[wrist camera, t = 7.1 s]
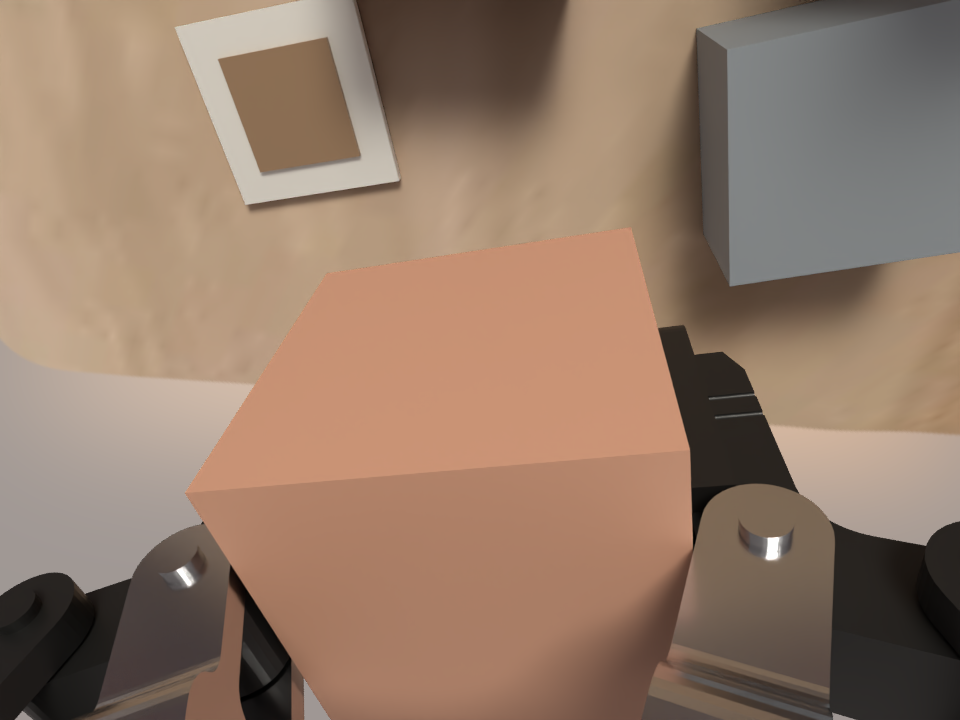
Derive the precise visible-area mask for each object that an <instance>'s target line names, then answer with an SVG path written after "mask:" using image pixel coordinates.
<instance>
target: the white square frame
mask: <svg viewBox="0 0 960 720" xmlns="http://www.w3.org/2000/svg"><path fill="white" fill-rule="evenodd" d="M175 29H176V32H177V34H178V37H179V39H180V42H181V44H182V47H183V49H184V52H185V54H186V57H187V59H188V62H189V64H190V67H191V69H192V72H193V74H194V77H195V79H196V82H197V84H198V87H199V89H200V92H201V94H202V97H203V99H204V102H205V104H206V107H207V109H208V112H209V115H210V117H211V120H212V122H213V125H214V127H215V130H216V132H217V135H218V137H219V140H220V142H221V145H222V147H223V150H224V152H225V155H226V157H227V160H228V162H229V165H230V167H231V170H232V172H233V175H234V177H235V180H236V182H237V185H238V187H239V190H240V192H241V195H242V197H243V200H244V202H245V205H248V204H254V203H261V202H267V201H273V200H280V199H286V198H293V197H299V196H306V195H312V194H319V193H325V192H331V191H338V190H344V189H351V188H357V187H364V186H370V185H377V184H383V183H389V182H396V181H400V179H401V176H400V172H399V168H398V164H397V160H396V156H395V152H394V148H393V144H392V140H391V136H390V132H389V128H388V124H387V120H386V116H385V112H384V108H383V105H382V101H381V97H380V93H379V89H378V85H377V81H376V77H375V73H374V69H373V65H372V61H371V57H370V53H369V49H368V45H367V41H366V37H365V33H364V29H363V25H362V21H361V17H360V14H359V10H358V6H357V2H356V0H300V1H295V2H290V3H285V4H281V5H276V6H271V7H267V8H262V9H257V10H252V11H248V12H243V13H238V14H234V15H229V16H224V17H220V18H215V19H210V20H205V21H201V22H196V23H191V24H187V25H182V26H178V27H175Z"/></svg>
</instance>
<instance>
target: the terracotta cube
mask: <svg viewBox="0 0 960 720" xmlns="http://www.w3.org/2000/svg"><path fill="white" fill-rule="evenodd" d="M185 494H186V496H187V497H188V499H189V500H190V501H191V503H192V505H193V506H194V508H195V509H196V511H197V512H198V514H199V515H200V517H201V519H202V520H203V522H204V524H205V525H206V527H207V528H208V530H209V531H210V533H211V534H212V536H213V538H214V539H215V541H216V542H217V544H218V545H219V547H220V548H221V550H222V551H223V553H224V555H225V556H226V558H227V559H228V561H229V562H230V564H231V565H232V567H233V569H234V570H235V572H236V573H237V575H238V576H239V578H240V579H241V581H242V583H243V584H244V586H245V587H246V589H247V590H248V592H249V593H250V595H251V597H252V598H253V600H254V601H255V603H256V604H257V606H258V607H259V609H260V610H261V612H262V614H263V615H264V617H265V618H266V620H267V621H268V623H269V624H270V626H271V628H272V629H273V631H274V632H275V634H276V635H277V637H278V638H279V640H280V642H281V643H282V645H283V646H284V648H285V649H286V651H287V652H288V654H289V656H290V657H291V659H292V660H293V662H294V663H295V665H296V666H297V668H298V670H299V671H300V673H301V674H302V676H303V677H304V679H305V680H306V682H307V683H308V685H309V687H310V688H311V690H312V691H313V693H314V694H315V696H316V697H317V699H318V700H319V702H320V704H321V705H322V707H323V708H324V710H325V711H326V713H327V714H328V716H329V718H330V719H331V720H641V718H642V714H643V710H644V707H645V703H646V699H647V695H648V691H649V687H650V684H651V680H652V677H653V674H654V672H655V669H656V667H657V665H658V663H659V662H660V661H661V660H662V661H665V660H666V659H667V657H668V654H669V651H670V647H671V643H672V639H673V635H674V631H675V627H676V622H677V618H678V614H679V610H680V606H681V601H682V597H683V593H684V589H685V585H686V580H687V576H688V572H689V568H690V564H691V559H692V555H693V532H692V498H691V464H690V448H689V444H688V440H687V437H686V433H685V429H684V425H683V422H682V418H681V414H680V410H679V406H678V403H677V399H676V395H675V391H674V388H673V384H672V380H671V376H670V373H669V369H668V365H667V361H666V358H665V354H664V350H663V346H662V342H661V339H660V335H659V331H658V327H657V324H656V320H655V316H654V312H653V309H652V305H651V301H650V297H649V294H648V290H647V286H646V282H645V278H644V275H643V271H642V267H641V263H640V260H639V256H638V252H637V248H636V245H635V241H634V237H633V233H632V230H631V227H629V228H622V229H616V230H609V231H603V232H596V233H590V234H583V235H576V236H570V237H563V238H557V239H550V240H543V241H537V242H530V243H524V244H517V245H511V246H504V247H497V248H491V249H484V250H478V251H471V252H465V253H458V254H451V255H445V256H438V257H432V258H425V259H419V260H412V261H405V262H399V263H392V264H386V265H379V266H372V267H366V268H359V269H353V270H346V271H340V272H333V273H327V274H326V275H325V277H324V278H323V280H322V282H321V283H320V285H319V286H318V288H317V289H316V291H315V292H314V294H313V296H312V297H311V299H310V300H309V302H308V303H307V305H306V306H305V308H304V309H303V311H302V313H301V314H300V316H299V317H298V319H297V320H296V322H295V323H294V325H293V327H292V328H291V330H290V331H289V333H288V334H287V336H286V337H285V339H284V340H283V342H282V344H281V345H280V347H279V348H278V350H277V351H276V353H275V354H274V356H273V357H272V359H271V361H270V362H269V364H268V365H267V367H266V368H265V370H264V371H263V373H262V375H261V376H260V378H259V379H258V381H257V382H256V384H255V385H254V387H253V388H252V390H251V392H250V393H249V395H248V396H247V398H246V399H245V401H244V403H243V404H242V406H241V407H240V409H239V410H238V412H237V413H236V415H235V417H234V418H233V420H232V421H231V423H230V424H229V426H228V427H227V429H226V431H225V432H224V434H223V435H222V437H221V438H220V440H219V441H218V443H217V444H216V446H215V447H214V449H213V451H212V452H211V454H210V455H209V457H208V458H207V460H206V462H205V463H204V465H203V466H202V467H201V469H200V471H199V472H198V474H197V475H196V477H195V478H194V480H193V481H192V483H191V485H190V486H189V488H188V489H187V491H186V492H185Z"/></svg>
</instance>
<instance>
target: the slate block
mask: <svg viewBox="0 0 960 720" xmlns="http://www.w3.org/2000/svg"><path fill="white" fill-rule="evenodd" d="M696 32H697V61H698V90H699V120H700V149H701V178H702V208H703V234H704V236H705V238H706V240H707V242H708V244H709V246H710V248H711V250H712V252H713V254H714V256H715V258H716V260H717V262H718V264H719V266H720V268H721V270H722V272H723V274H724V276H725V278H726V280H727V282H728V284H729V286H736V285H743V284H750V283H756V282H763V281H770V280H776V279H783V278H790V277H796V276H803V275H810V274H817V273H823V272H830V271H837V270H843V269H850V268H857V267H864V266H870V265H877V264H884V263H890V262H897V261H904V260H911V259H917V258H924V257H931V256H937V255H944V254H951V253H958V252H960V0H819V1H815V2H811V3H806V4H802V5H798V6H793V7H789V8H784V9H780V10H776V11H771V12H767V13H763V14H758V15H754V16H749V17H745V18H741V19H736V20H732V21H728V22H723V23H719V24H714V25H710V26H706V27H701V28H697V29H696Z"/></svg>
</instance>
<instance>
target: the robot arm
mask: <svg viewBox="0 0 960 720" xmlns="http://www.w3.org/2000/svg"><path fill="white" fill-rule="evenodd" d="M658 331H659V335H660V339H661V342H662V346H663V350H664V354H665V358H666V361H667V365H668V369H669V373H670V376H671V380H672V384H673V388H674V391H675V395H676V399H677V403H678V406H679V410H680V414H681V418H682V422H683V425H684V429H685V433H686V437H687V440H688V444H689V448H690V464H691V498H692V532H693V555H692V559H691V564H690V568H689V572H688V576H687V580H686V585H685V589H684V593H683V597H682V601H681V606H680V610H679V614H678V618H677V622H676V627H675V631H674V635H673V639H672V643H671V647H670V651H669V654H668V657H667V659H666V660H665V661H662V660H661V661H660V662H659V663H658V665H657V667H656V669H655V672H654V674H653V677H652V680H651V684H650V687H649V691H648V695H647V699H646V703H645V707H644V710H643V714H642V718H641V720H833V715H832V712H833V713H836V714H839V715H843V716H846V717H849V718H853V719H856V720H960V522H955V523H952V524H949V525H946V526H944V527H943V528H941V529H939V530H938V531H936V532H935V533H934V534H933V535H932V536H931V538H930V539H929V541H928V543H927V545H926V546H924V545H918V544H913V543H907V542H902V541H896V540H890V539H885V538H880V537H874V536H870V535H865V534H861V533H858V532H855V531H852V530H849V529H846V528H844V527H842V526H839V525H837V524H835V523H833V522H831V521H829V519H828V518H827V516H826V515H825V514H824V513H823V511H822V510H821V509H820V508H819V507H818V506H817V505H815V504H814V503H813V502H812V501H810V500H809V499H807V498H805V497H804V496H802V495H800V494H799V492H798V490H797V489H796V487H795V485H794V482H793V480H792V478H791V475H790V473H789V471H788V468H787V466H786V464H785V461H784V459H783V457H782V455H781V452H780V450H779V448H778V445H777V443H776V441H775V438H774V436H773V434H772V432H771V429H770V427H769V425H768V422H767V420H766V418H765V415H763V413H762V409H761V406H760V404H759V402H758V399H757V397H756V396H755V395H754V390H753V388H752V386H751V383H750V381H749V379H748V376H747V374H746V372H745V369H743V368H742V367H741V366H740V365H738V364H737V363H736V362H735V361H733V360H732V359H731V358H729V357H728V356H727V355H726V354H724V353H723V352H715V353H706V354H697V355H694V352H693V349H692V346H691V343H690V340H689V337H688V334H687V331H686V329H685V326H684V325H681V326H672V327H664V328H658ZM21 711H24V712H25V713H26V714H27V715H28V716H30V717H31V718H32V719H33V720H304V680H303V676H302V674H301V673H300V671H299V670H298V668H297V666H296V665H295V663H294V662H293V660H292V659H291V657H290V656H289V654H288V652H287V651H286V649H285V648H284V646H283V645H282V643H281V642H280V640H279V638H278V637H277V635H276V634H275V632H274V631H273V629H272V628H271V626H270V624H269V623H268V621H267V620H266V618H265V617H264V615H263V614H262V612H261V610H260V609H259V607H258V606H257V604H256V603H255V601H254V600H253V598H252V597H251V595H250V593H249V592H248V590H247V589H246V587H245V586H244V584H243V583H242V581H241V579H240V578H239V576H238V575H237V573H236V572H235V570H234V569H233V567H232V565H231V564H230V562H229V561H228V559H227V558H226V556H225V555H224V553H223V551H222V550H221V548H220V547H219V545H218V544H217V542H216V541H215V539H214V538H213V536H212V534H211V533H210V531H209V530H208V528H207V527H206V525H205V524H204V522H202V523H201V525H196V526H192V527H189V528H186V529H184V530H181V531H179V532H177V533H175V534H173V535H171V536H169V537H168V538H166V539H165V540H163V541H162V542H161V543H159V544H158V545H157V546H155V547H154V548H153V549H152V550H151V551H150V552H149V553H148V554H147V555H146V556H145V557H144V558H143V559H142V561H141V562H140V564H139V565H138V566H137V568H136V570H135V572H134V574H133V576H132V578H131V579H128V580H125V581H122V582H119V583H116V584H113V585H110V586H107V587H104V588H101V589H98V590H95V591H92V592H89V593H86V594H84V592H83V591H82V590H81V589H80V588H79V587H78V586H77V585H76V583H75V582H74V581H73V580H72V579H71V578H70V577H69V576H68V575H65V574H63V573H47V574H42V575H39V576H36V577H33V578H31V579H28V580H26V581H24V582H22V583H20V584H18V585H16V586H14V587H13V588H11V589H10V590H8V591H7V592H5V593H4V594H3V595H1V596H0V720H15V719H16V718H17V716H18V715H19V714H20V713H21Z"/></svg>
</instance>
